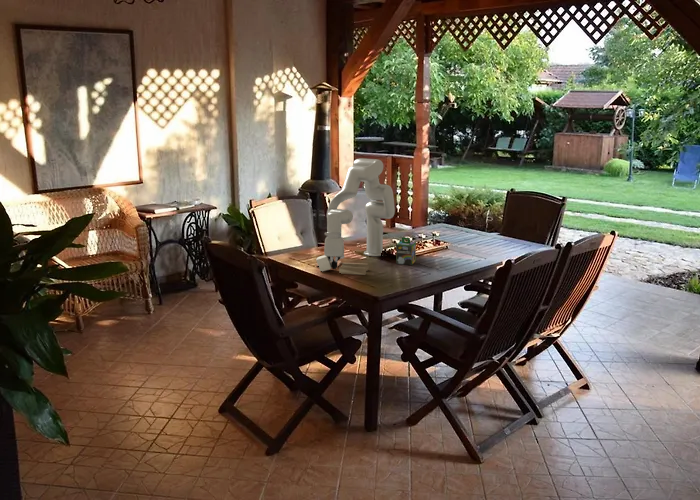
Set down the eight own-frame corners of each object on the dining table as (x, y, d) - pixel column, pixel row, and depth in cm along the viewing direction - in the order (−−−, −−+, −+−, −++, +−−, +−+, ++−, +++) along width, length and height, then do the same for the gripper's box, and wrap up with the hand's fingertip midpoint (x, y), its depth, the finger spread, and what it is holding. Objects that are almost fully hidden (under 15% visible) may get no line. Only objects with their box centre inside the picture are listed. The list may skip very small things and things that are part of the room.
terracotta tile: (320, 261, 368) (320, 259, 368) (341, 262, 367) (341, 260, 366) (315, 267, 357) (315, 265, 357) (337, 267, 355) (337, 266, 355)
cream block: (322, 269, 352) (317, 257, 351) (332, 265, 352) (328, 253, 350) (320, 272, 347) (316, 259, 345) (331, 268, 346) (326, 256, 344)
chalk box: (415, 261, 369) (416, 236, 366) (411, 265, 361) (412, 239, 357) (400, 260, 372) (400, 234, 369) (395, 264, 364) (396, 238, 360)
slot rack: (342, 268, 353) (342, 262, 352) (367, 270, 351) (368, 263, 350) (339, 273, 344) (339, 267, 343) (365, 274, 342) (365, 268, 341)
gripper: (319, 236, 342) (319, 269, 346) (347, 237, 340) (347, 271, 344) (321, 233, 349) (322, 266, 353) (349, 234, 347) (349, 267, 351)
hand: (334, 268), depth 348 cm, fingers closed
